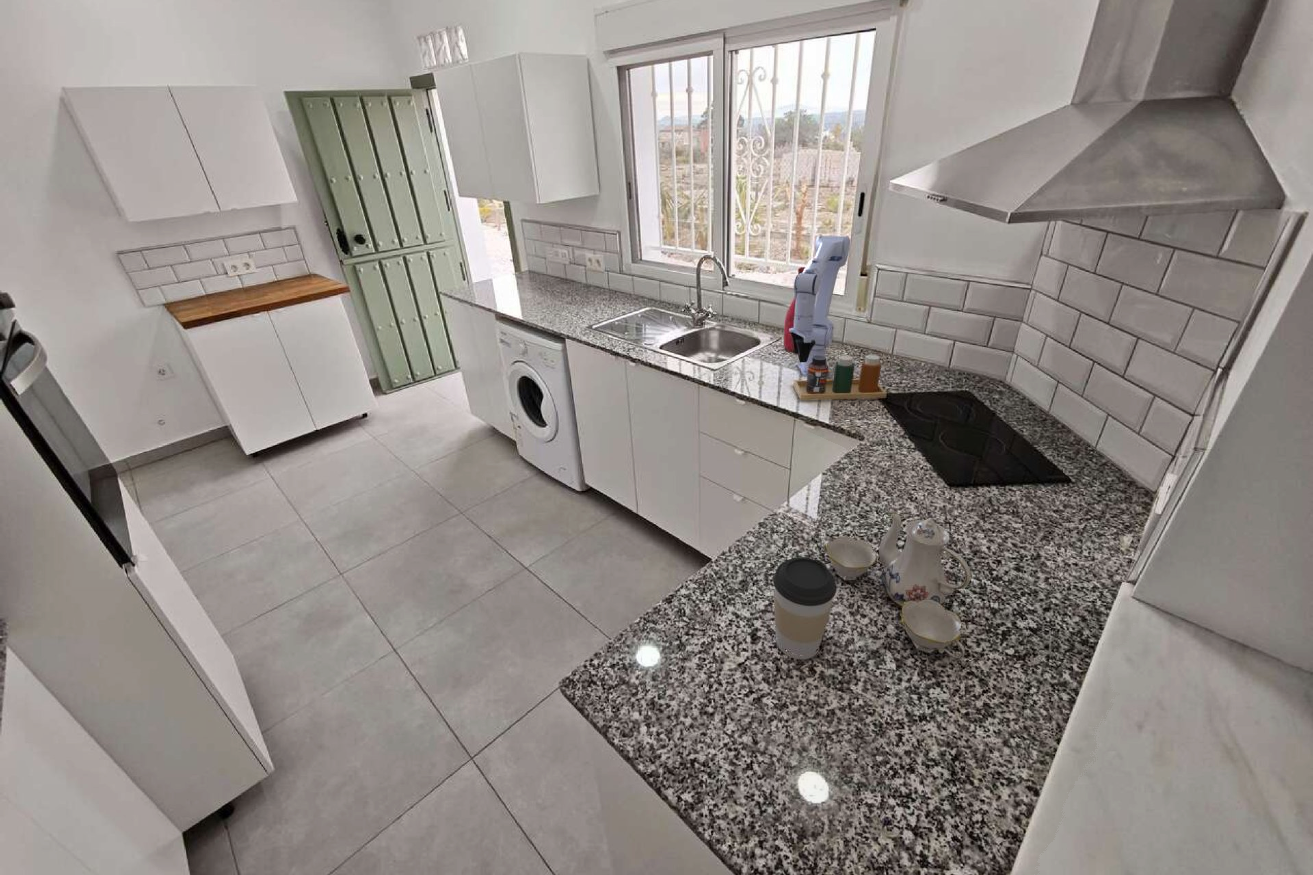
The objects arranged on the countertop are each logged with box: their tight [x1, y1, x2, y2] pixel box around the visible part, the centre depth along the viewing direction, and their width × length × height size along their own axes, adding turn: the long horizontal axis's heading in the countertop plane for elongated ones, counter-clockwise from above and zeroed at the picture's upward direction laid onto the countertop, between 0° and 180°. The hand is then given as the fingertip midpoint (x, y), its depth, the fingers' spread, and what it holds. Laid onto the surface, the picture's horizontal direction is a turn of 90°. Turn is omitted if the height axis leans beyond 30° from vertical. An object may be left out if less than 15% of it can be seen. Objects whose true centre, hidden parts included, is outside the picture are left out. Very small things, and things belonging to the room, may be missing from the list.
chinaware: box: [825, 509, 972, 660], centre depth 89 cm, size 28×17×17 cm, turn 29°
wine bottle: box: [783, 266, 806, 352], centre depth 198 cm, size 10×10×30 cm
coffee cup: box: [772, 556, 837, 661], centre depth 82 cm, size 9×9×15 cm
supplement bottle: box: [806, 355, 829, 394], centre depth 166 cm, size 6×6×11 cm
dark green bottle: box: [832, 354, 856, 393], centre depth 165 cm, size 6×6×11 cm
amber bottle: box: [858, 354, 882, 393], centre depth 165 cm, size 6×6×11 cm
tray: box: [792, 378, 888, 401], centre depth 168 cm, size 12×26×2 cm, turn 88°
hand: (800, 357), depth 168 cm, fingers open, 7 cm apart
